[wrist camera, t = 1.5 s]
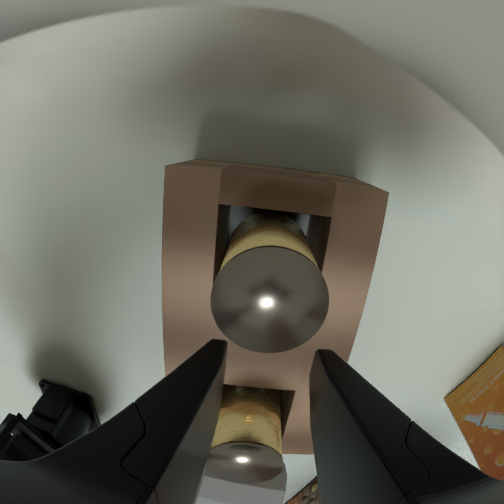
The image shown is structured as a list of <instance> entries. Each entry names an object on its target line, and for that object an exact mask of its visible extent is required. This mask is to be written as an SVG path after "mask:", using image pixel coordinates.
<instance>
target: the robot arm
mask: <svg viewBox="0 0 504 504" xmlns="http://www.w3.org/2000/svg"><path fill="white" fill-rule="evenodd" d="M227 345H228V343H227V341H226V340H220V339H211V340H210V341H208V342H207V343H206V344H205V345H204V346H202V347H201V348H200V349H199V350H198V351H196V352H195V353H194V354H193V355H191V356H190V357H189V358H188V359H187V360H185V361H184V362H183V363H182V364H180V365H179V366H178V367H177V368H175V369H174V370H173V371H172V372H171V373H169V374H168V375H167V376H166V377H164V378H163V379H162V380H161V381H159V382H158V383H157V384H156V385H154V386H153V387H152V388H150V389H149V390H148V391H147V392H145V393H144V394H143V395H142V396H140V397H139V398H138V399H137V400H135V402H133V403H131V404H130V405H129V406H127V407H126V408H125V409H123V410H122V411H121V412H119V413H118V414H117V415H115V416H114V417H112V418H111V419H110V420H108V421H107V422H105V423H103V424H102V425H100V424H99V421H98V418H97V415H96V411H95V408H94V405H93V401H92V398H91V397H90V396H89V395H87V394H84V393H81V392H78V391H75V390H71V389H68V388H65V387H62V386H59V385H56V384H54V383H51V382H48V381H45V380H41V381H40V382H39V385H40V388H41V391H42V393H43V395H42V396H41V397H40V399H39V400H38V401H37V403H36V404H35V405H34V407H33V408H32V410H33V411H32V412H31V414H30V415H29V416H28V418H27V419H26V420H25V419H24V418H23V416H22V415H21V414H20V413H18V414H17V415H16V416H15V415H13V414H10V413H9V414H8V415H7V417H6V418H5V419H4V421H3V422H2V423H1V424H0V504H193V503H194V500H195V497H196V494H197V490H198V487H199V484H200V480H201V477H202V474H203V470H204V467H205V464H206V460H207V457H208V453H209V450H210V447H211V443H212V440H213V437H214V433H215V430H216V426H217V422H218V418H219V412H220V405H221V398H222V391H223V384H224V377H225V369H226V358H227ZM309 396H310V428H311V436H312V443H313V449H314V456H315V463H316V470H317V477H318V484H319V491H320V498H321V504H504V481H503V480H499V479H496V478H493V477H491V476H489V475H487V474H485V473H484V472H482V471H481V470H479V469H478V468H476V467H475V466H473V465H472V464H470V463H469V462H467V461H466V460H464V459H463V458H461V457H460V456H458V455H457V454H455V453H454V452H452V451H451V450H449V449H448V448H447V447H445V446H444V445H442V444H441V443H440V442H438V441H437V440H436V439H434V438H433V437H432V436H431V435H429V434H428V433H427V432H426V431H425V430H423V429H422V428H421V427H420V426H419V425H417V424H416V423H415V422H414V421H411V419H410V418H409V417H408V416H407V415H406V414H404V413H403V412H402V411H401V410H400V409H399V408H398V407H396V406H395V405H394V404H393V403H392V402H391V401H390V400H388V399H387V398H386V397H385V396H384V395H383V394H382V393H380V392H379V391H378V390H377V389H376V388H375V387H374V386H372V385H371V384H370V383H369V382H368V381H367V380H366V379H364V378H363V377H362V376H361V375H360V374H359V373H358V372H356V371H355V370H354V369H353V368H352V367H351V366H350V365H349V364H347V363H346V362H345V361H344V360H343V359H342V358H341V357H340V356H338V355H337V354H336V353H335V352H334V351H333V350H330V349H317V350H316V352H315V355H314V359H313V363H312V366H311V370H310V375H309ZM11 433H12V434H13V435H11Z"/></svg>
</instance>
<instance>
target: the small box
mask: <svg viewBox="0 0 504 504" xmlns="http://www.w3.org/2000/svg"><path fill="white" fill-rule="evenodd" d="M444 401H445V403H446V404H447V406H448V408H449V410H450V412H451V414H452V415H453V417H454V419H455V421H456V423H457V425H458V427H459V429H460V431H461V433H462V434H463V436H464V438H465V440H466V442H467V444H468V446H469V448H470V450H471V452H472V454H473V456H474V458H475V460H476V462H477V464H478V466H479V468H480V470H481V471H482V472H484V473H485V474H487V475H489V476H491V477H493V478H496V479H499V480H503V481H504V346H503V345H501V346H500V347H499V348H498V349H497V350H496V352H495V353H494V354H493V355H492V356H491V357H490V358H489V359H488V360H487V361H486V362H485V363H484V364H483V365H482V366H481V367H480V368H479V369H478V370H476V371H475V372H474V373H473V374H472V375H471V376H470V377H469V378H468V379H467V380H466V381H464V382H463V383H462V384H461V385H460V386H459V387H458V388H456V389H455V390H454V391H453V392H452V393H450V394H449V395H447V396H446V397H445V398H444Z"/></svg>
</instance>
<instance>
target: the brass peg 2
mask: <svg viewBox="0 0 504 504" xmlns="http://www.w3.org/2000/svg"><path fill="white" fill-rule="evenodd" d="M206 467H207V468H208V470H209V471H210V472H211V473H212V474H214V475H215V476H217V477H219V478H221V479H223V480H226V481H230V482H234V483H242V484H253V483H261V482H265V481H268V480H271V479H273V478H275V477H276V476H278V475H279V474H280V473H281V471H282V469H283V458H282V440H281V413H280V391H279V389H269V388H257V387H247V386H238V385H229V384H223V391H222V398H221V405H220V412H219V418H218V422H217V426H216V430H215V433H214V437H213V440H212V443H211V447H210V450H209V453H208V457H207V460H206Z"/></svg>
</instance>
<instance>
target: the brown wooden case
mask: <svg viewBox="0 0 504 504" xmlns="http://www.w3.org/2000/svg"><path fill="white" fill-rule="evenodd" d="M285 504H321V498H320V491H319V484H318V477H316V478H314V479H313V480H312V481H311V482H310V483H309V484H308V485H307V486H305V487H304V488H303V489H302V490H301V491H300V492H298V493H297V494H296V495H295V496H294V497H293V498H291V499H290V500H289V501H288V502H286V503H285Z"/></svg>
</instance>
